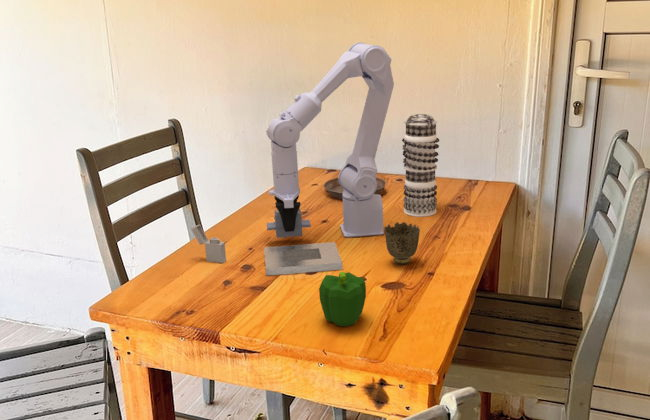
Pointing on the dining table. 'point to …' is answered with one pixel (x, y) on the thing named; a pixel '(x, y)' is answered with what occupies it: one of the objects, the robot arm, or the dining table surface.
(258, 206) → the dining table surface
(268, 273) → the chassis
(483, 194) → the dining table surface
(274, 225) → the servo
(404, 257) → the cup
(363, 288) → the bell pepper
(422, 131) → the decorative candle
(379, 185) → the plant saucer
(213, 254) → the lighter
